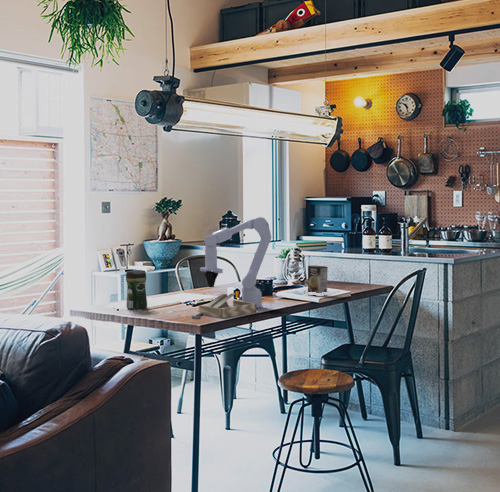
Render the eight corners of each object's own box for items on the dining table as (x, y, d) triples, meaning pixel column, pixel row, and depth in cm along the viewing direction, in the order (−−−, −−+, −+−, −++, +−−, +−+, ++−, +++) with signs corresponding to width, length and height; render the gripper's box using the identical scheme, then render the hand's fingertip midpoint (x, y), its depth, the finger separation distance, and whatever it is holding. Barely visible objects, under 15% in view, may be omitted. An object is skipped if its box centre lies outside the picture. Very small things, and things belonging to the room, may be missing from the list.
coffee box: (307, 295, 375) (307, 265, 373) (315, 294, 379) (315, 265, 378) (319, 297, 368) (319, 267, 367) (327, 295, 372) (327, 266, 371)
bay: (234, 308, 331) (234, 300, 331) (256, 312, 320) (256, 303, 320) (199, 313, 316) (199, 305, 316) (220, 317, 305) (220, 309, 305)
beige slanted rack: (225, 324, 312) (245, 300, 318) (212, 311, 310) (232, 287, 316) (209, 324, 326) (228, 301, 333) (197, 311, 324) (216, 288, 330)
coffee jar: (140, 306, 339) (139, 268, 338) (149, 308, 333) (149, 270, 332) (123, 308, 332) (122, 270, 331) (132, 310, 327) (132, 271, 325)
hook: (201, 315, 313) (201, 312, 313) (207, 315, 312) (207, 313, 311) (191, 318, 304) (191, 316, 304) (198, 319, 303) (198, 316, 303)
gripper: (195, 258, 336) (195, 286, 337) (214, 260, 326) (215, 289, 327) (206, 257, 341) (206, 285, 342) (225, 259, 331) (226, 287, 332)
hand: (211, 287), depth 335 cm, fingers closed
